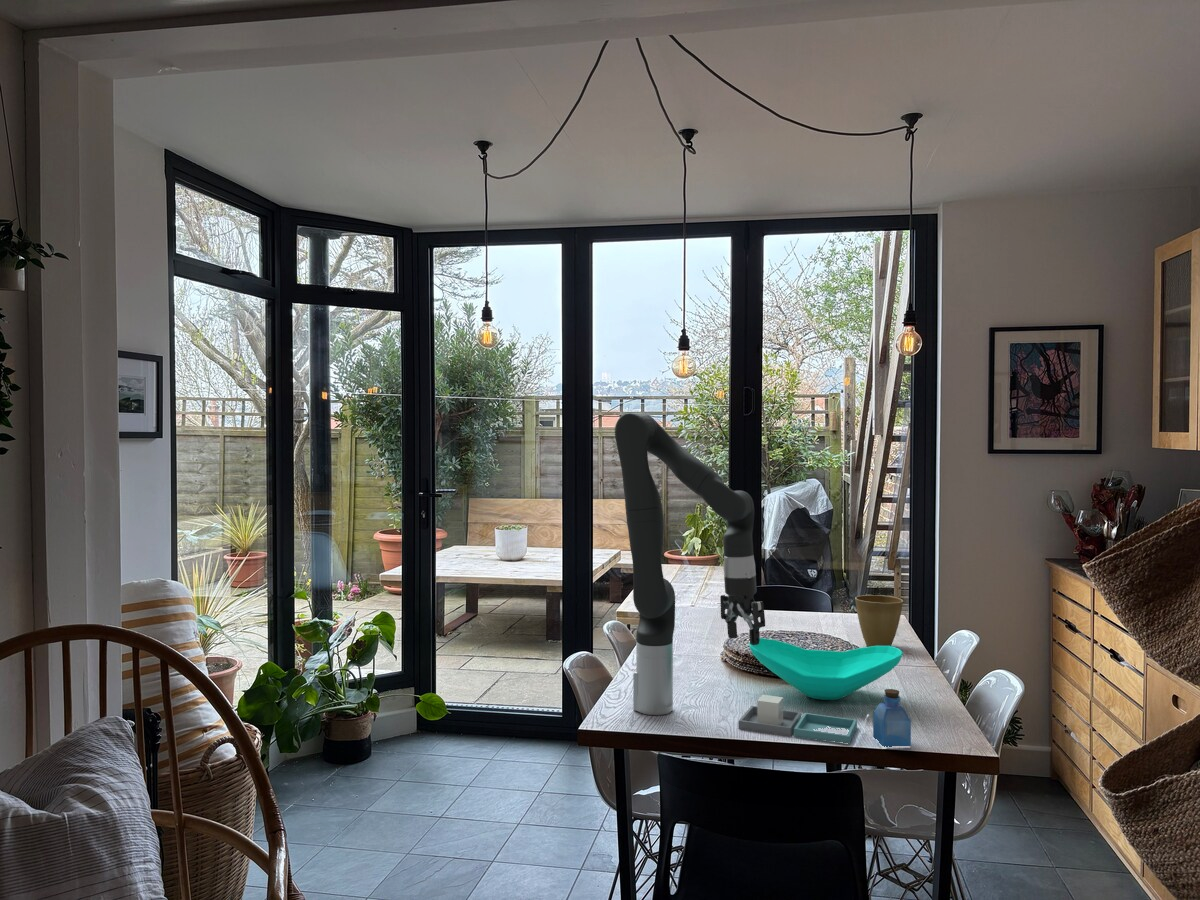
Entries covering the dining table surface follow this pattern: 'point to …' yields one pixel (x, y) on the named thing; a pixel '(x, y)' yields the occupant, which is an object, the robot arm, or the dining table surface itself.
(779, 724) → the stone block
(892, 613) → the plant pot
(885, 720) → the perfume bottle
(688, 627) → the dining table surface
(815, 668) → the table top decor
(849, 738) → the teal tray
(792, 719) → the charcoal tray
